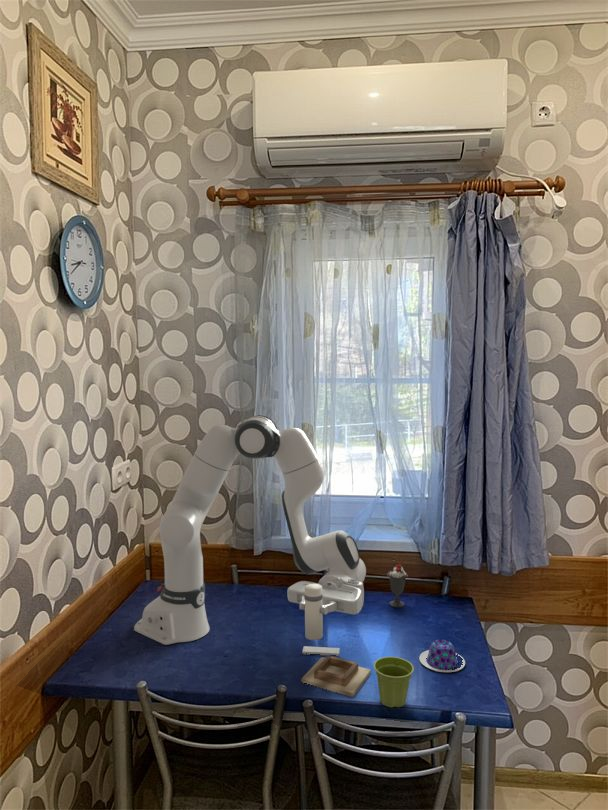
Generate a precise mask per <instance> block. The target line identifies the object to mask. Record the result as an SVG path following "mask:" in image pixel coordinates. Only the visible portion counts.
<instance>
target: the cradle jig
mask: <svg viewBox="0 0 608 810" xmlns="http://www.w3.org/2000/svg"><path fill="white" fill-rule="evenodd" d="M371 670H372V669H369V668H366V667H362V666H359V662H356V661H353V660H348V659H344V658H340V657H338V656H329V655H326V657H323V656H321V657H320V658H319V659H318V660H317V661H316V662H315V664H314V665H313V666H312V667H310V669H309V670H307V672H306V673H305V674H304V676H303V677H302V678H301V680H300V681H301V682H303V683H302V684H304V683H307V684H306V685H308V684H310V685H309V686H311V685H314V686H313V687H315V686H317V687H316V688H318V687H320V689H322V688H323V690H326V689H327V690H326V691H329V690H330V692H334V693H336V692H337V694H340V695H345V696H348V697H351V698H354V697H355V695H356V694H357V693H358V691H359V690H360V689H361V687H362V686H363V685H364V683H365V682H366V680H367V679H368V677H369V676H370V675H371V673H372V671H371ZM301 682H300V683H301Z"/></svg>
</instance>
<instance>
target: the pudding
mask: <svg viewBox="0 0 608 810" xmlns="http://www.w3.org/2000/svg"><path fill="white" fill-rule="evenodd" d="M455 649H456V648H455V646H454V645H453V643H452V642H450V641H449V640H446V639H436V640H435V641H432V642H431V643H430V647H429V649H427V650H425V651H423V652H421V654H420V655H419V659H418V660H419V662H420V663H421V664H422V665H423V666H424V667H426V668H427V669H430V670H432V671H435V672H440V673H452V672H453V673H454V672H459V671H460V670H462V669H464V667H465V665H466V660H465V659H464V657H463V656H462V655H460V654H458V653H457V652H456V650H455ZM457 654H458V656H460V657H461V658H462V659H463V660H462V662H463V663H462V664H463V665H461V667H460V668H457V669H455V670H452V669H451V668H453V669H454V667H457V665H458V664H457V663H458V661H457V657H456V655H457ZM426 658H427V659H426ZM456 664H457V665H456ZM440 668H441V669H440ZM448 669H449V670H448Z"/></svg>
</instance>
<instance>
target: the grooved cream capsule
mask: <svg viewBox="0 0 608 810" xmlns="http://www.w3.org/2000/svg"><path fill="white" fill-rule="evenodd" d="M304 598H305V610H304V633H305V634H304V636H305V639H307V640H309V641H317V640H321V639H322V638H323V636H324V634H323V633H324V629H323V628H324V626H323V625H324V623H323V616H324V614H321V613H320V611H321V610H320V608H321V606H322V598H323V597H322V586H321V585H319V584H308V585H306V586H305V593H304Z"/></svg>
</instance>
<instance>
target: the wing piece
mask: <svg viewBox="0 0 608 810" xmlns="http://www.w3.org/2000/svg"><path fill="white" fill-rule="evenodd" d="M340 649H341V648H340V647H327V646H326V647H325V646H324V647H323V646H309V645H307V646H306V645H304V646H303V648H302V655H310V654H320V655H319V656H328V655H336V656H335V657H339V656H340ZM306 653H307V654H306Z"/></svg>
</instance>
